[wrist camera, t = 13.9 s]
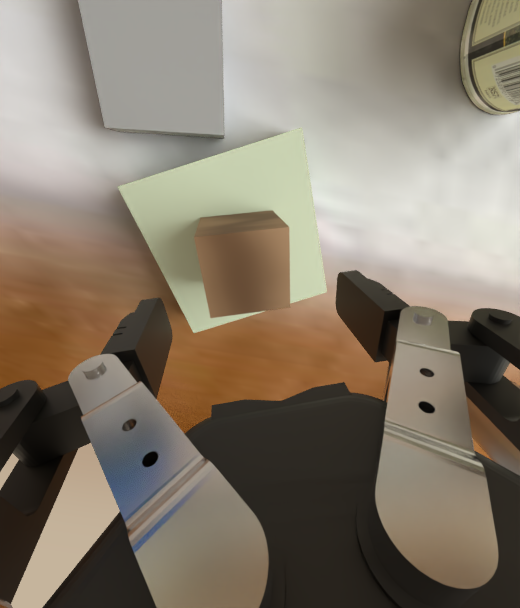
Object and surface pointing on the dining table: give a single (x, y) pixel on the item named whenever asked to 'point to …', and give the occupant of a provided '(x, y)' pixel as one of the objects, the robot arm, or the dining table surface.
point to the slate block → (157, 65)
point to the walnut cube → (244, 262)
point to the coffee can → (492, 55)
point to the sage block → (225, 201)
